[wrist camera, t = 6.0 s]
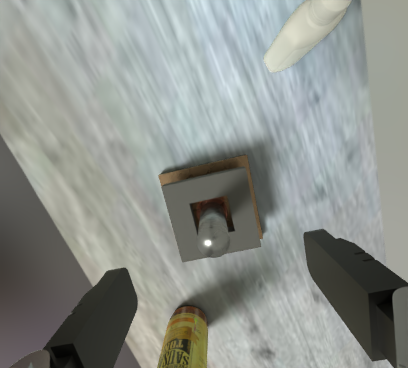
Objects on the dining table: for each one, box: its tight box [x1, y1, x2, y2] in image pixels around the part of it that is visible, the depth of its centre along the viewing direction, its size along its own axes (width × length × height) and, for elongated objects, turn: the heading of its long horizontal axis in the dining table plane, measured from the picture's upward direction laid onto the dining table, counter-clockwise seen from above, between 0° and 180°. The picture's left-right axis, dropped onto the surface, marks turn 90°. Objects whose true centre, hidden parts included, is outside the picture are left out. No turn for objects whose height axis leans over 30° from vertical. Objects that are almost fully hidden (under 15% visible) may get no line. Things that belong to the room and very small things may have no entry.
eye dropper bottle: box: [263, 0, 352, 73], centre depth 20 cm, size 4×6×12 cm
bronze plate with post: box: [158, 155, 263, 258], centre depth 24 cm, size 12×12×11 cm
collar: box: [162, 166, 261, 262], centre depth 26 cm, size 10×10×2 cm
